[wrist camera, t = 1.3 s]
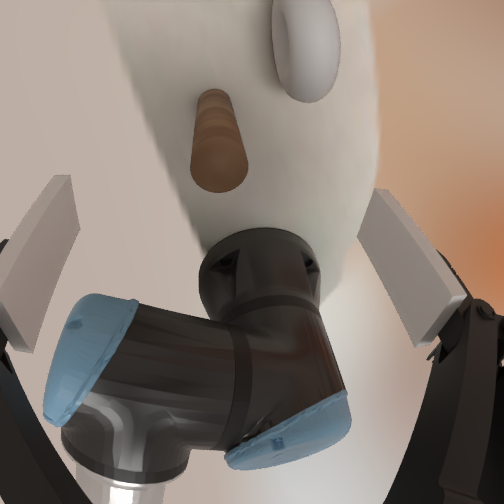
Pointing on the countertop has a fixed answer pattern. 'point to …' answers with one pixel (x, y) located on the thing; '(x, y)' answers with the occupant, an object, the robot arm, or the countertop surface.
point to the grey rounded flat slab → (306, 47)
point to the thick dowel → (217, 145)
